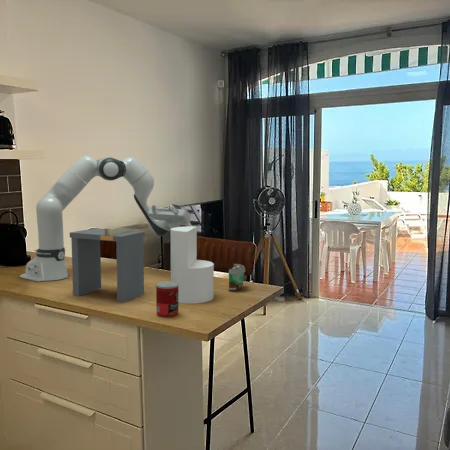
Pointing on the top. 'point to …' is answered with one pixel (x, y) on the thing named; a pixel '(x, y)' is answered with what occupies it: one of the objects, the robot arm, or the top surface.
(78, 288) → the grey step stool
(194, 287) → the white stepped pillar
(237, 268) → the food container
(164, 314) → the canned food
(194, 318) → the top surface
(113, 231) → the bar
